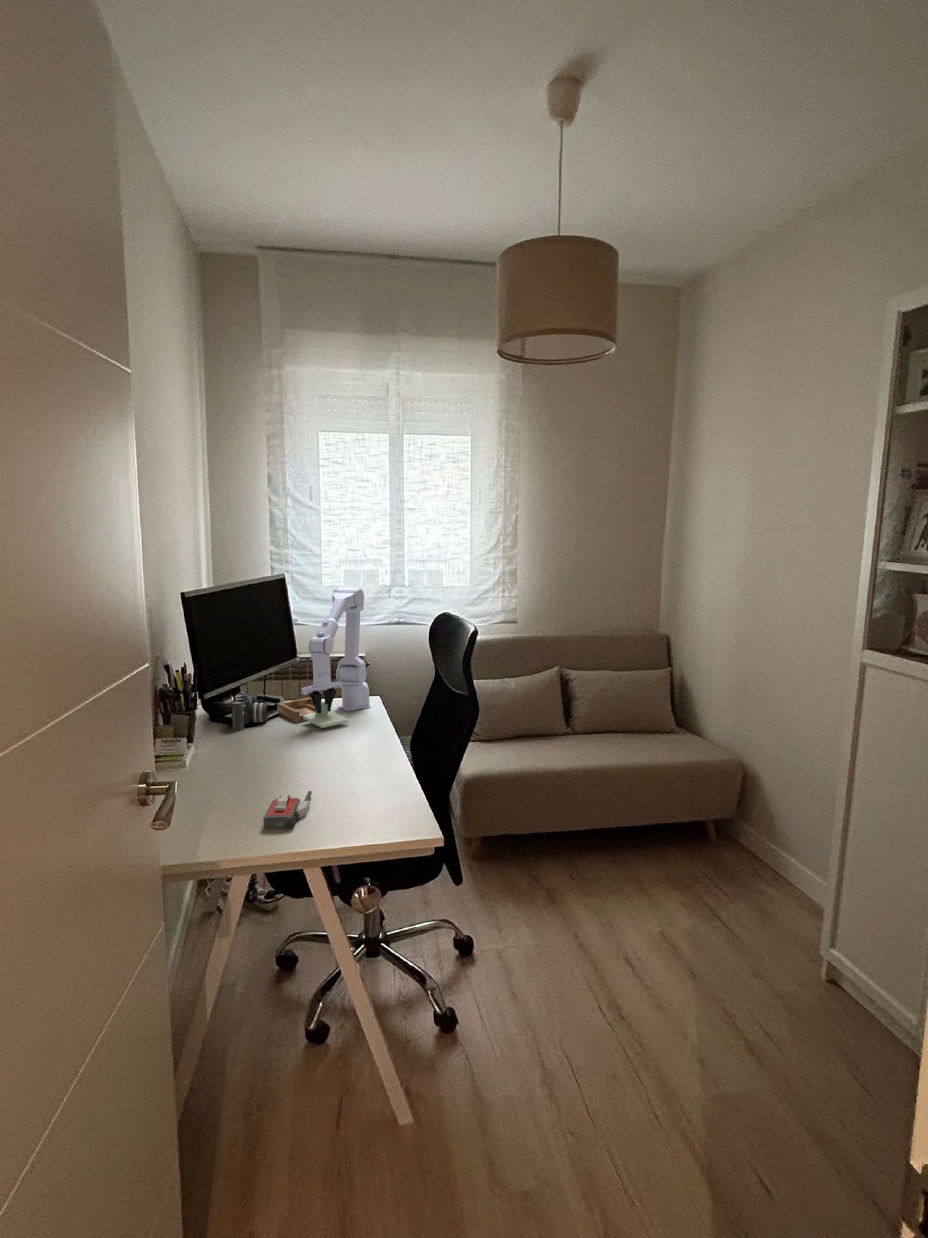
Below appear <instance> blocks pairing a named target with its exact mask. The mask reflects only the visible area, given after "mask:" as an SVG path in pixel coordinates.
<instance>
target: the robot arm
mask: <svg viewBox="0 0 928 1238" xmlns="http://www.w3.org/2000/svg"><path fill="white" fill-rule="evenodd" d="M331 595H332V596H331V601H332V605H331V608H330V611H329V614H328V617H327V618H325V619H323V620H322V622H321V625H319V628H318V630H317V633H316V634H315V636H314V635H313V637H311V638H310V639H309V641H308V642H309V643H308V647H307V648H308V651H309V653H310V659H311V660H312V675H313V684H312V685H308V686H305V687H301V694H302V695H304V696H305V695H308V696H309V698H311V699H312V701H313V704H314V706H315V710H316V713H319V714H320V713H321V702H322V699H324V703H326V704H328V711H330V710H331V711H332V704H333V701H334V699H335V696H336V695H337V692H338V691H337V689H341V703H342V704H341V705H337V707H338V708H339V709H341V710H345V711H347V712H352V711H356V710H362V709H366V708H371V704H370V689H369V685H368V683H367V682H365V681H366V679H367V675H368V674H367V673H368V672H367V667H366V662H365V661H364V660H363V659H361V658H360V657H359V651H360V632H361V631H360V630H361V628H360V627H361V612H362V611H364V605H365V593H364V591H363V590H362V588H361V587H339V586H337V587H334V589H333V590H332V593H331ZM344 613H345V632H344V633H345V634H344V635H345V636H344V638H345V639H344V655H343V656H344V657H343V658H341V659H340V660H339V661H338V662H337V667H336V668H337V669H336V672H335V676H336V678H335V679H337V681H332V679H331V678H332V675H331V653H332V652H333V649H334V642H335V640H334V638H335V636H336V634H337V631H338V629H339V624H338V622H339V620H340V619H341V617H342V616H343V614H344ZM320 692H322V693H320ZM323 697H324V698H323Z"/></svg>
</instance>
